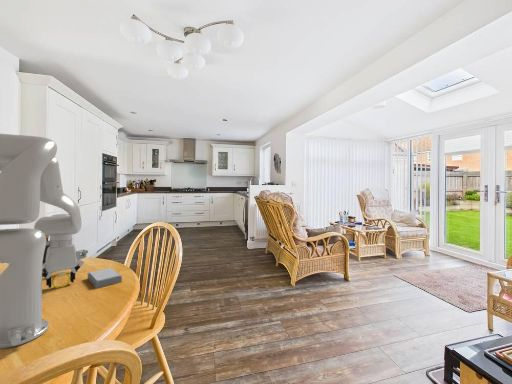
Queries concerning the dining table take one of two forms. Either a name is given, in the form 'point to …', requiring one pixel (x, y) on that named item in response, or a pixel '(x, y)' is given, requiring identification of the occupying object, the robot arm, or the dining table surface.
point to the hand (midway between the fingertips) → (61, 283)
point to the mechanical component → (81, 255)
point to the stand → (104, 277)
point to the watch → (60, 275)
